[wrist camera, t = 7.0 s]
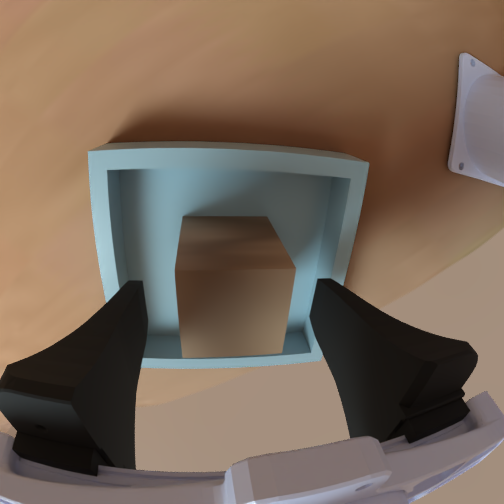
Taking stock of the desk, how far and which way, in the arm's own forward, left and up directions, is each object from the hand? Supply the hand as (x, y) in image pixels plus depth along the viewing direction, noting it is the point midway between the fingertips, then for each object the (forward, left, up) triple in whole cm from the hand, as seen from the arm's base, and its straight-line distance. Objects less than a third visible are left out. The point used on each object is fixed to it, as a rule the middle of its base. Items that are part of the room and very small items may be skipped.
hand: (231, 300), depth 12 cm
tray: (0, 0, -4) cm, 4 cm away
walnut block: (0, 0, -3) cm, 3 cm away
